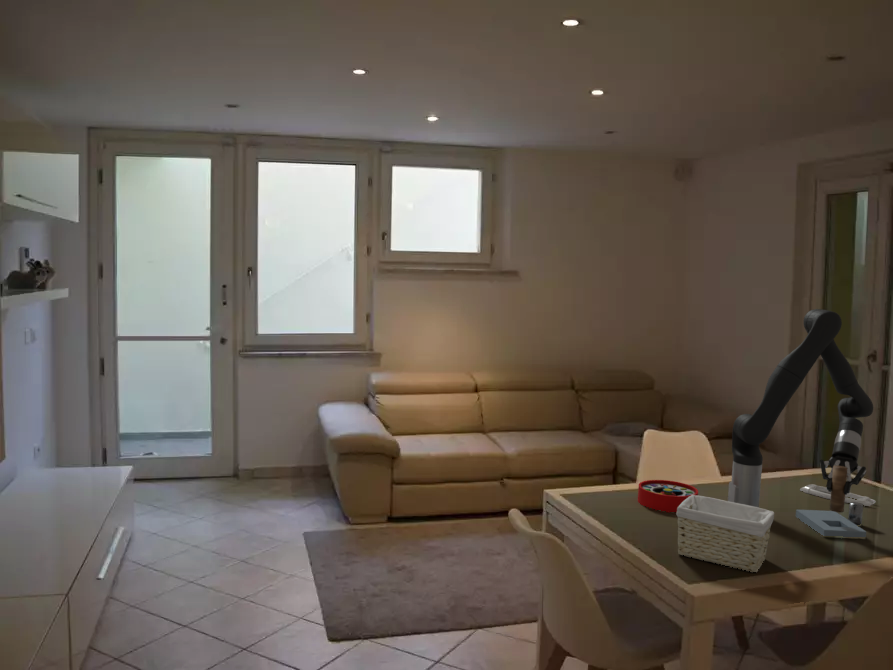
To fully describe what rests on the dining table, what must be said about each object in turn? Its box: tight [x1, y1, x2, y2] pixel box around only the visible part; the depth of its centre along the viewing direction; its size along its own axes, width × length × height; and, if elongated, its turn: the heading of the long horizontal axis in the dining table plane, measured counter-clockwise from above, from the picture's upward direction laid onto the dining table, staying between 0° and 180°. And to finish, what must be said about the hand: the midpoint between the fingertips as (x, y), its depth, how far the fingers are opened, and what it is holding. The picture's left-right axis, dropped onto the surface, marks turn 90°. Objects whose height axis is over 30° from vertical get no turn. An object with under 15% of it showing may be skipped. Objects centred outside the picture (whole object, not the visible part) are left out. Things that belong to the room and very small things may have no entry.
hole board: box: [795, 509, 867, 538], centre depth 252 cm, size 13×20×2 cm, turn 0°
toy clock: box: [637, 479, 699, 513], centre depth 270 cm, size 20×6×20 cm
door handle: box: [799, 483, 877, 507], centre depth 286 cm, size 3×10×25 cm
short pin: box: [847, 502, 864, 525], centre depth 256 cm, size 4×4×7 cm
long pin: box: [829, 466, 847, 513], centre depth 247 cm, size 4×4×14 cm
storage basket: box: [675, 495, 775, 573], centre depth 221 cm, size 24×16×15 cm
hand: (837, 491), depth 245 cm, fingers closed on long pin, 4 cm apart
